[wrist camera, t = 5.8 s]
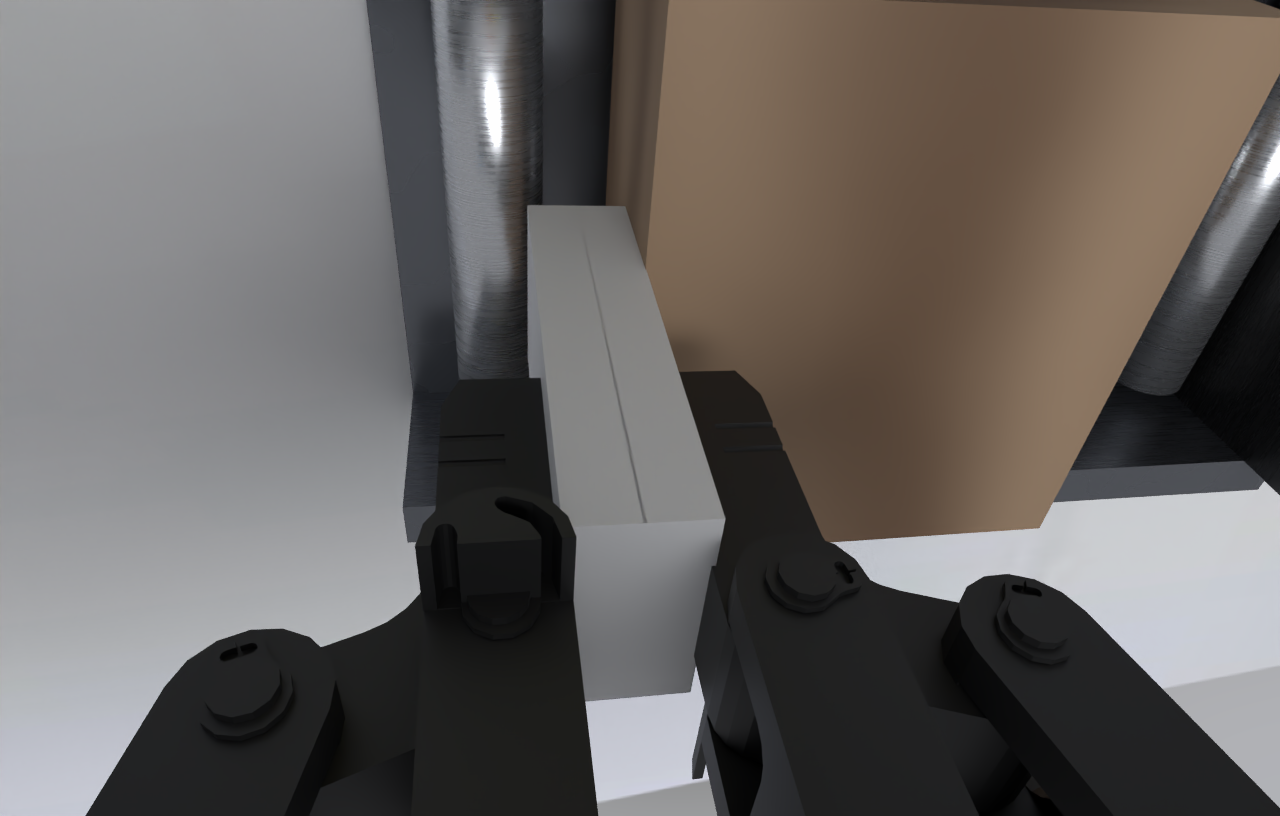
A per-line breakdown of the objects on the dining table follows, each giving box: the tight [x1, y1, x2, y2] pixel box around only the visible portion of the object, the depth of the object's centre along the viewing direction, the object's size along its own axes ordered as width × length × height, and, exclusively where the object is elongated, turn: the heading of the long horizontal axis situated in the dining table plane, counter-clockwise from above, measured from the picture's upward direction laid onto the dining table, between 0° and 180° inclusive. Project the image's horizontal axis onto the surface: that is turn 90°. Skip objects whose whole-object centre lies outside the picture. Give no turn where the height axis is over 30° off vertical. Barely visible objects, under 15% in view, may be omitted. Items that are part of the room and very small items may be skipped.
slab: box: [606, 0, 1280, 542], centre depth 14 cm, size 8×9×4 cm
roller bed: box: [367, 0, 1280, 542], centre depth 15 cm, size 20×13×8 cm, turn 86°
